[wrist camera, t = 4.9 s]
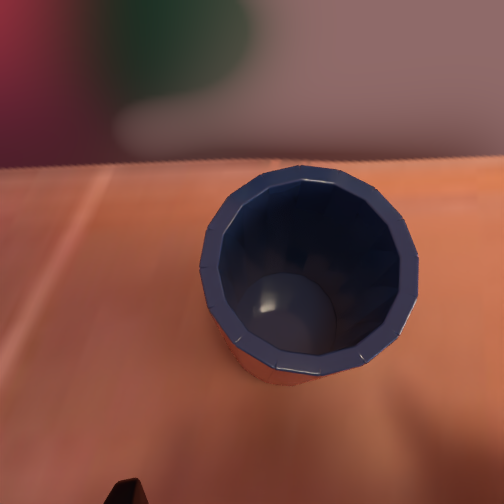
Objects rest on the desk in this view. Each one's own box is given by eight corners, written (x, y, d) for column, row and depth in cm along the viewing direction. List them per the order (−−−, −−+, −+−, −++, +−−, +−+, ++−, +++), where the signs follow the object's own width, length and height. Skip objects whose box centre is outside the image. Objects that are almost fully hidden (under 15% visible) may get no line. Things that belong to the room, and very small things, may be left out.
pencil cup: (308, 410, 19) (359, 422, 10) (203, 345, 20) (157, 299, 11) (363, 304, 21) (453, 225, 11) (263, 248, 22) (269, 133, 12)
